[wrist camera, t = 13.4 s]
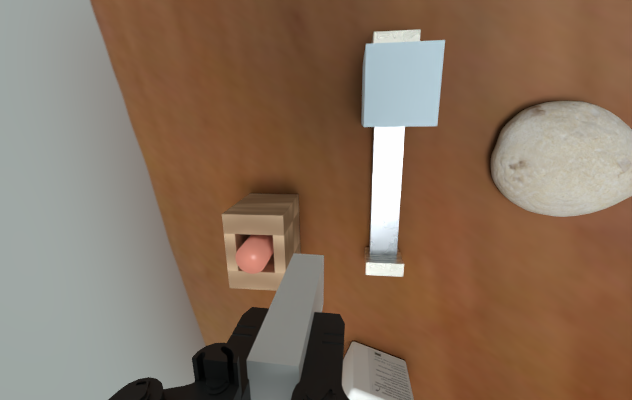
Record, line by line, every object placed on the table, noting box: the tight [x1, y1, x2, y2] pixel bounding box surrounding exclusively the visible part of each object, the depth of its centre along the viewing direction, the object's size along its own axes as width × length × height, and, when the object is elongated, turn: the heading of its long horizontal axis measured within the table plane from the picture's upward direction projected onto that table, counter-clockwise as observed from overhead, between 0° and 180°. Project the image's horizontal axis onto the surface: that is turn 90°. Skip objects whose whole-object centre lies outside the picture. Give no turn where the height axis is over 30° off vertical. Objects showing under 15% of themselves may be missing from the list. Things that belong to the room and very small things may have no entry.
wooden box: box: [222, 194, 300, 291], centre depth 33 cm, size 8×6×8 cm
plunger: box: [235, 235, 274, 274], centre depth 32 cm, size 3×3×8 cm
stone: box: [491, 101, 632, 217], centre depth 29 cm, size 13×10×8 cm
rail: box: [365, 29, 421, 277], centre depth 31 cm, size 24×4×4 cm, turn 1°
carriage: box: [361, 40, 445, 127], centre depth 27 cm, size 6×6×9 cm
